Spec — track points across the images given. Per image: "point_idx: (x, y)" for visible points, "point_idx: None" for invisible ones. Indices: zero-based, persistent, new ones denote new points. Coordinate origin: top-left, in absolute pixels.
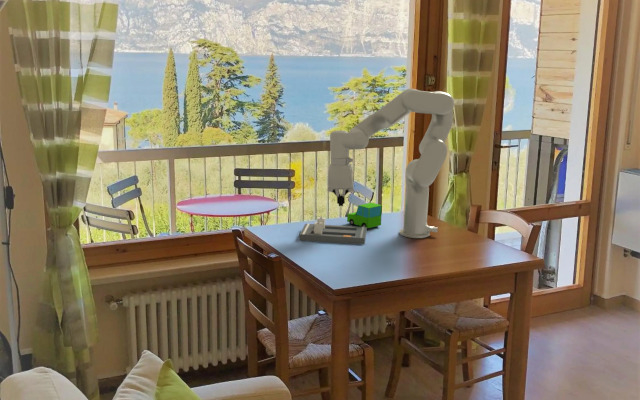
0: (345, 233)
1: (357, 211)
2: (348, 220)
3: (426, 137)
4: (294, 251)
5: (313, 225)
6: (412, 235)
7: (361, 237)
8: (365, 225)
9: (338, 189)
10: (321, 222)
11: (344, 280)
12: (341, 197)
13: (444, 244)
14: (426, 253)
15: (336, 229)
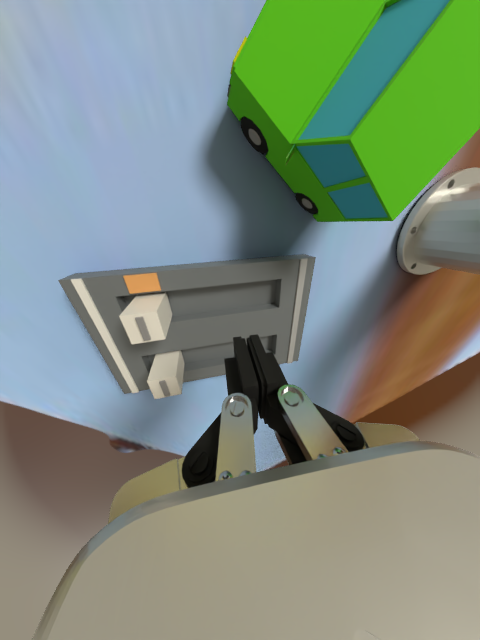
0: (248, 337)
1: (313, 147)
2: (236, 110)
3: None
4: (158, 430)
5: (112, 296)
6: (419, 272)
7: (291, 362)
8: (313, 207)
9: (251, 468)
10: (173, 379)
11: (261, 462)
12: (266, 419)
13: (451, 296)
14: (389, 356)
15: (216, 317)
